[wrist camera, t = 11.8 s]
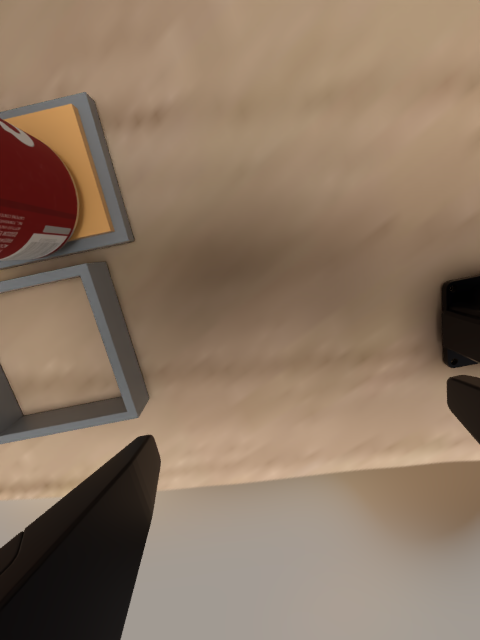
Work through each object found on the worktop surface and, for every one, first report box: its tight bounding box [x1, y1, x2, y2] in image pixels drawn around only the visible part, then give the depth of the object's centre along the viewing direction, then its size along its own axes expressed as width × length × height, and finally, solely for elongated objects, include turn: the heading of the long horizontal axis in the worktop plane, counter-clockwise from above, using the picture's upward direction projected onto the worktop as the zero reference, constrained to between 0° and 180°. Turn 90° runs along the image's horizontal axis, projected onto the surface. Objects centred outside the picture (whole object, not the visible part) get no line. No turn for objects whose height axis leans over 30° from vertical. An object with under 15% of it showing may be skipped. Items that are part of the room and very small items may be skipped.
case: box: [0, 262, 149, 444], centre depth 19 cm, size 11×11×2 cm
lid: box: [0, 92, 134, 270], centre depth 17 cm, size 9×8×2 cm
